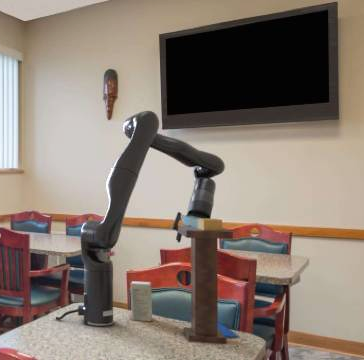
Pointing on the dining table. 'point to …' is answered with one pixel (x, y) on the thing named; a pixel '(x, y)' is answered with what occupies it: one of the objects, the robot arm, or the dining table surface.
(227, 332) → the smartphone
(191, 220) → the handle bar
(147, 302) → the cosmetic box
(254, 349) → the dining table surface
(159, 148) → the robot arm
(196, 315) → the shelf stand
